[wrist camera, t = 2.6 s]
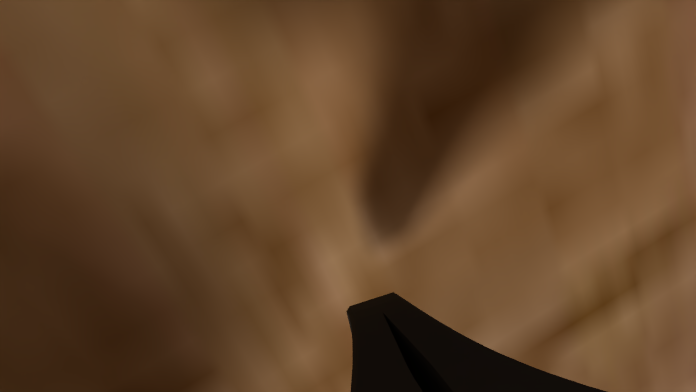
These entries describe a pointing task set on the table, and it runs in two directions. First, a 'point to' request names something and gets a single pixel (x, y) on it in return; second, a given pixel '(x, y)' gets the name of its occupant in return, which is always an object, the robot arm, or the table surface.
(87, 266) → the table surface
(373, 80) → the table surface
